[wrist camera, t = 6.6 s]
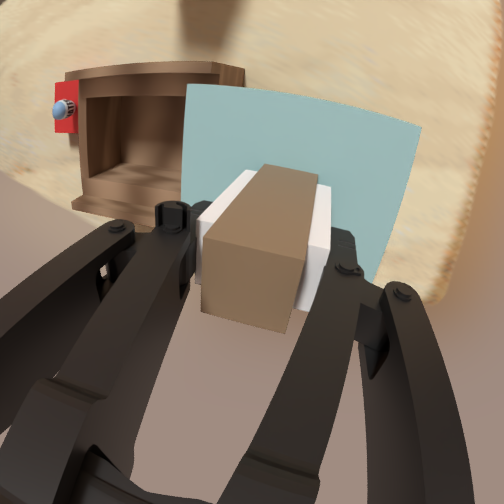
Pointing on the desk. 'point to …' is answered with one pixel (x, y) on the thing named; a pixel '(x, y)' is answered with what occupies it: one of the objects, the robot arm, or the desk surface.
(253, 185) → the lid
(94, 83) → the walnut box
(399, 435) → the robot arm
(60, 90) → the red knobbed tile
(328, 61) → the desk surface
